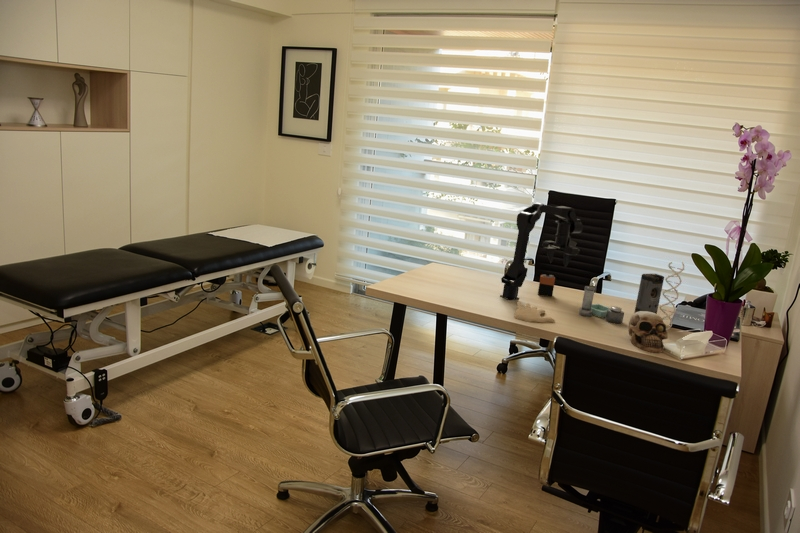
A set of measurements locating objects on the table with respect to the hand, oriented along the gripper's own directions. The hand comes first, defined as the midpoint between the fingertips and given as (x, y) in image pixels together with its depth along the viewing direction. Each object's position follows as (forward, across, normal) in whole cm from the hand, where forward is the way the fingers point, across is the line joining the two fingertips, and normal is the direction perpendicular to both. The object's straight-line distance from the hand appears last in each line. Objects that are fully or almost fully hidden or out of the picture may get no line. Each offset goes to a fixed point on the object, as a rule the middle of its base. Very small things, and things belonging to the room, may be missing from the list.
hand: (557, 265), depth 295 cm
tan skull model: (+15, -65, +17) cm, 69 cm away
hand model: (+15, -25, +37) cm, 47 cm away
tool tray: (+15, -30, +2) cm, 33 cm away
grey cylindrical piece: (+15, -30, +11) cm, 35 cm away
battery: (+15, 0, +5) cm, 16 cm away
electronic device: (+15, -42, -14) cm, 46 cm away
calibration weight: (+15, -40, +5) cm, 43 cm away
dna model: (+15, -58, -4) cm, 60 cm away
